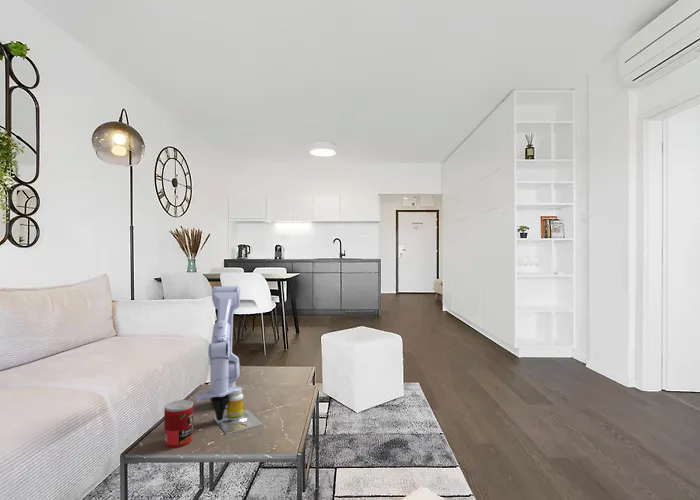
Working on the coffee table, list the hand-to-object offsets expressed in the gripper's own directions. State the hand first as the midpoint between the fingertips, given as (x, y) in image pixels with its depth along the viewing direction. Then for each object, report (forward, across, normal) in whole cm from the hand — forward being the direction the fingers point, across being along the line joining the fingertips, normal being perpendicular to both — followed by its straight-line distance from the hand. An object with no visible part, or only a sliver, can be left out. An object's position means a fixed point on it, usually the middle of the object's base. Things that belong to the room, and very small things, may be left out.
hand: (219, 419), depth 127 cm
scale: (+1, +5, -2) cm, 6 cm away
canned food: (+1, -14, -7) cm, 15 cm away
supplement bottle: (+1, +5, 0) cm, 5 cm away
